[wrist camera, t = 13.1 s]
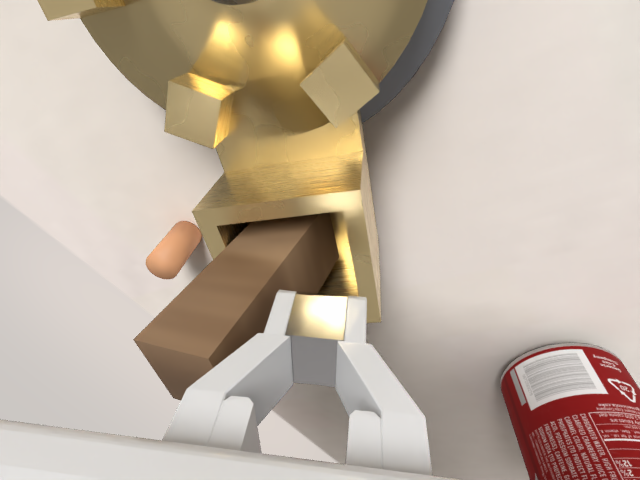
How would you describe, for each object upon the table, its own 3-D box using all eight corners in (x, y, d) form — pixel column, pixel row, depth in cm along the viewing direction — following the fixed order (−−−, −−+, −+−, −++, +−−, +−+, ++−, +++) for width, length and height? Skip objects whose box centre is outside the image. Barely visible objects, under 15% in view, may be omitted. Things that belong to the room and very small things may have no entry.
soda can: (489, 343, 22) (582, 622, 12) (619, 324, 20) (853, 639, 10) (504, 407, 26) (586, 668, 16) (616, 396, 24) (793, 688, 14)
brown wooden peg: (339, 256, 14) (242, 421, 9) (286, 252, 15) (173, 398, 10) (327, 203, 13) (208, 358, 8) (271, 202, 14) (133, 339, 9)
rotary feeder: (446, 242, 16) (468, 317, 12) (216, 264, 18) (176, 332, 15) (431, -496, 7) (495, -1049, 3) (-19, -270, 9) (-279, -445, 6)
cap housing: (514, 124, 15) (542, 149, 13) (185, 248, 21) (159, 282, 19) (374, -569, 8) (374, -831, 5) (-73, -80, 14) (-171, -96, 11)
